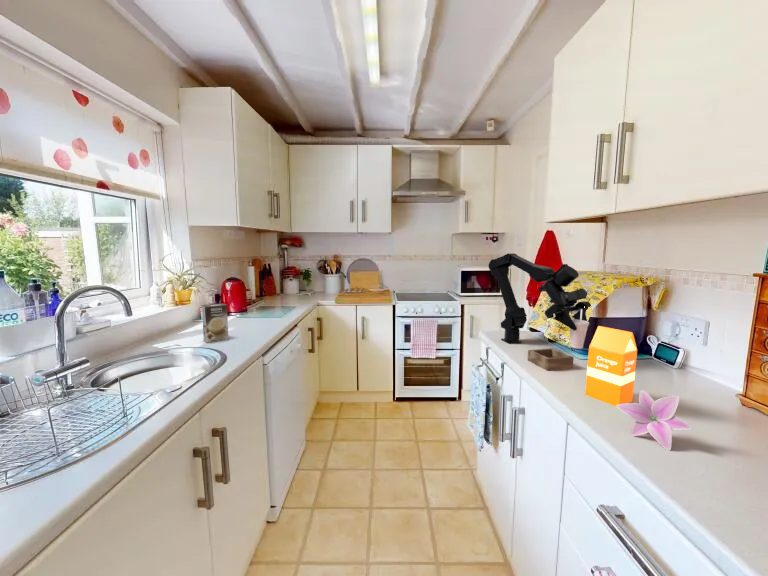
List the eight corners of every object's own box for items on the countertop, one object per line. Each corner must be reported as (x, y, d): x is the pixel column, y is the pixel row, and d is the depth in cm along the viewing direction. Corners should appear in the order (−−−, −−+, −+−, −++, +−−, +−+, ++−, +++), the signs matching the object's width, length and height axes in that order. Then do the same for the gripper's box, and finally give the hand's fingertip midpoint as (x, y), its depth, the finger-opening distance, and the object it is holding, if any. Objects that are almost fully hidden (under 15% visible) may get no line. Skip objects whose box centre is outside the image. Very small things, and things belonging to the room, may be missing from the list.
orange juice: (618, 407, 88) (625, 334, 85) (584, 394, 95) (590, 327, 93) (632, 400, 92) (639, 330, 89) (598, 389, 99) (604, 323, 97)
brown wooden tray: (527, 360, 124) (528, 350, 124) (551, 358, 126) (552, 348, 126) (547, 370, 114) (547, 359, 113) (572, 368, 116) (573, 357, 116)
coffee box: (206, 343, 144) (204, 307, 142) (203, 340, 149) (201, 305, 147) (229, 339, 150) (227, 304, 148) (225, 336, 155) (223, 302, 153)
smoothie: (590, 350, 117) (593, 311, 115) (570, 349, 118) (573, 310, 116) (582, 345, 123) (585, 308, 121) (564, 343, 124) (567, 307, 122)
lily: (608, 424, 81) (609, 399, 77) (647, 403, 83) (651, 377, 78) (656, 467, 71) (661, 441, 66) (701, 443, 72) (709, 415, 67)
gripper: (554, 282, 117) (581, 319, 109) (589, 280, 125) (616, 314, 116) (534, 300, 125) (557, 336, 117) (568, 297, 133) (592, 330, 124)
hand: (581, 329), depth 118 cm, fingers closed on smoothie, 6 cm apart
